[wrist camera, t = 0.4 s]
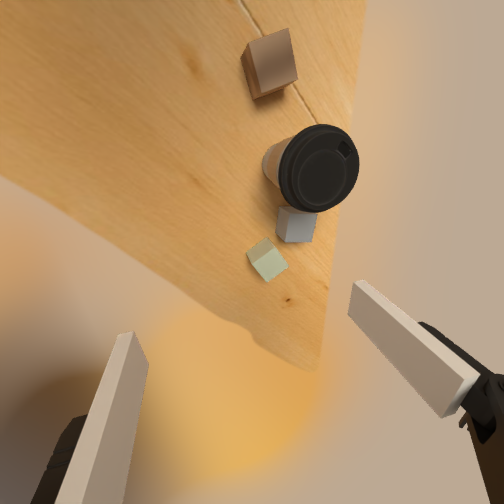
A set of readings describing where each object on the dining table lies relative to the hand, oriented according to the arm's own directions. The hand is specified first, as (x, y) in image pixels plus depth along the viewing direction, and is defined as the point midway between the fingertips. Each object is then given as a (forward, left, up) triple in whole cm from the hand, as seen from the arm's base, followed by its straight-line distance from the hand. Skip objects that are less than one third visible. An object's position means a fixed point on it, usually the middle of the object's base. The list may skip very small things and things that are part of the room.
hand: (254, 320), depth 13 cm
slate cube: (+4, +13, -27) cm, 31 cm away
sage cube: (+10, +8, -27) cm, 30 cm away
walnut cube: (-18, +9, -27) cm, 34 cm away
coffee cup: (-6, +11, -28) cm, 30 cm away
